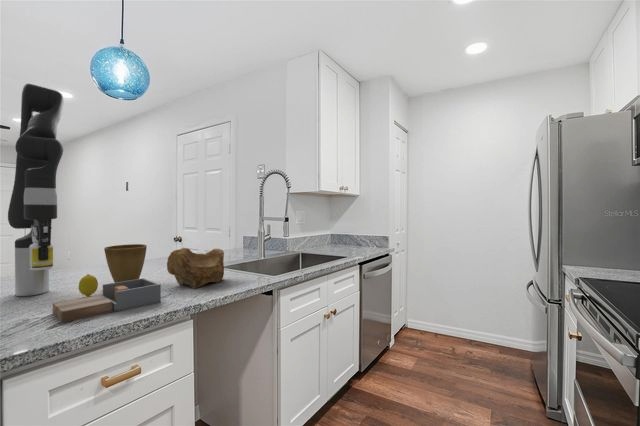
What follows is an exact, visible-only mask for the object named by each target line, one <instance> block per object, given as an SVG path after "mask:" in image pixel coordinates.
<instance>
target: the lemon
mask: <svg viewBox="0 0 640 426" xmlns="http://www.w3.org/2000/svg"><path fill="white" fill-rule="evenodd" d="M98 285H99V282H98V278H96V276H94V275H91V274H90V273H89V274H86V275H84V276H82V277H81V278H80V280H79V283H78V291H79V293H80V294H81V295H84V296H85V297H90V296H92V295H93V294H95V293H96V292H97V290H98V287H99V286H98Z"/></svg>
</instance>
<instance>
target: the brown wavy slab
mask: <svg viewBox="0 0 640 426" xmlns="http://www.w3.org/2000/svg"><path fill="white" fill-rule="evenodd" d="M112 312H113V302H112V301H110V300H108V299H107V298H105V297H103V296H101V294H97V295H90V296H89V297H87V296H85V297H80V298H75V299H68V300H63V301H57V302H53V303H52V314H53V315H54V316H55V317H56V318H57V319H58V320H59V321H60V322H61V323H67V322H71V321H76V320H80V319H85V318H89V317H95V316H98V315H104V314H107V313H112Z"/></svg>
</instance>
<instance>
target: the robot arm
mask: <svg viewBox="0 0 640 426" xmlns="http://www.w3.org/2000/svg"><path fill="white" fill-rule="evenodd" d="M20 103H21V106H20V107H21V109H20V131H19V137H18V138H17V140H16V143H15V151H16V162H15V174H14V181H13V188H12V192H11V196H10V197H11V198H10V202H9V205H8V206H9V207H8V211H7V221H8V225H10V227H12V228H13V229H16V230H17V229H19V230H21V229H23V230H25V229H30V232H28V233H27V234H26V235H24V236H22V237H19V238H17V239H16V240H14V295H15V297H28V296H29V297H30V296H36V295H41V294H46V293H48V292H50V269H45V270H30V269H29V246H30V245H31V244H33V242H32V237H35V241H37V244H38V245H37V247H38V260H39V261H43V260H48V248H47V247H49V246H50V245H51V244H52V243H51V241H52V228H53V227H52V223H53V222H52V220H56V219H57V218H58V194H57V181H56V180H57V171H58V168H59V164H60V162H61V160H62V156H63V154H64V146H63V144H62V143H61V141H60V140H58V139H57V133H58V131H57V129H58V124H59V122H60V120H61V117H62V114H63V110H64V96H63V94H62V93H61V92H60V91H57V90H56V89H52V88H48V87H44V86H39V85H36V84H33V83H25V84H24V85H23V87H22V91H21V102H20ZM34 113H36V114H35V115H33V114H34ZM44 240H45V241H46V242H42V241H44Z"/></svg>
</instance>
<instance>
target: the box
mask: <svg viewBox="0 0 640 426" xmlns="http://www.w3.org/2000/svg"><path fill="white" fill-rule="evenodd" d="M117 286H125V287H128V288H129V289H128V290H122V291H116V297H117V303H116V302H115V287H117ZM161 289H162V285H161V284H160V283H158V282H155V281H153V280H150V279H147V278H139V279H136V280H129V281H123V282H117V283H115V282H112V283H111V282H110V283H105V284H102V295H101V294H100V295H101V296H103V297H105V298H107V299H108V300H110V301H112V302H113V312H114V313H116V312H121V311H126V310H131V309H134V308H140V307H144V306H148V305H153V304H154V305H155V304H158V303H161V299H162V295H161V294H162V290H161Z"/></svg>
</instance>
